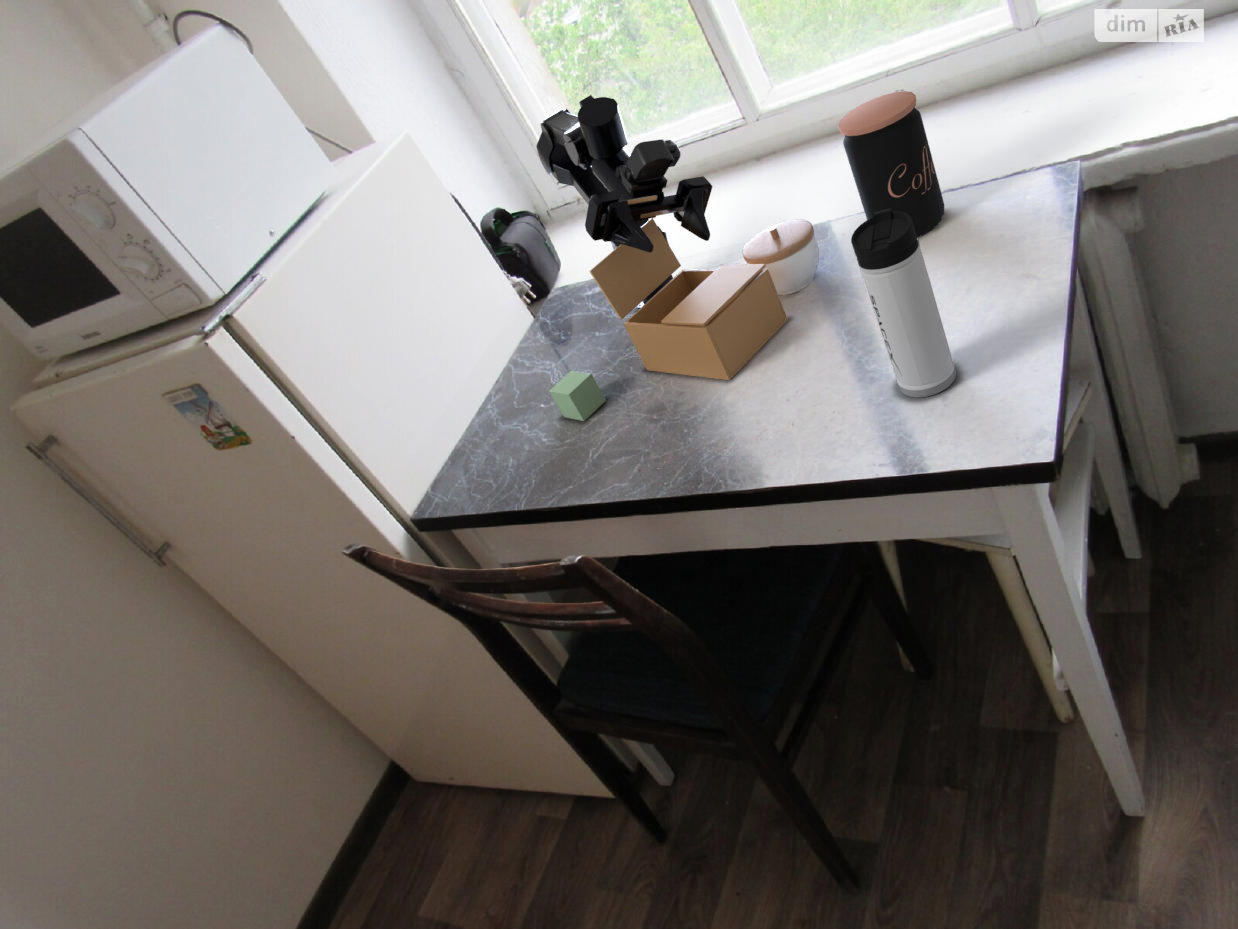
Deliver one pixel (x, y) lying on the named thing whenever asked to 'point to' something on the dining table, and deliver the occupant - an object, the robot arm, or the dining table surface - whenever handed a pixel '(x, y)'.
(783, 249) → the trinket box
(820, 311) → the dining table surface
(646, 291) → the flap
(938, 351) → the travel mug
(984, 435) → the dining table surface
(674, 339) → the carton
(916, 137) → the coffee jar
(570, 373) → the block
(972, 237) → the dining table surface
